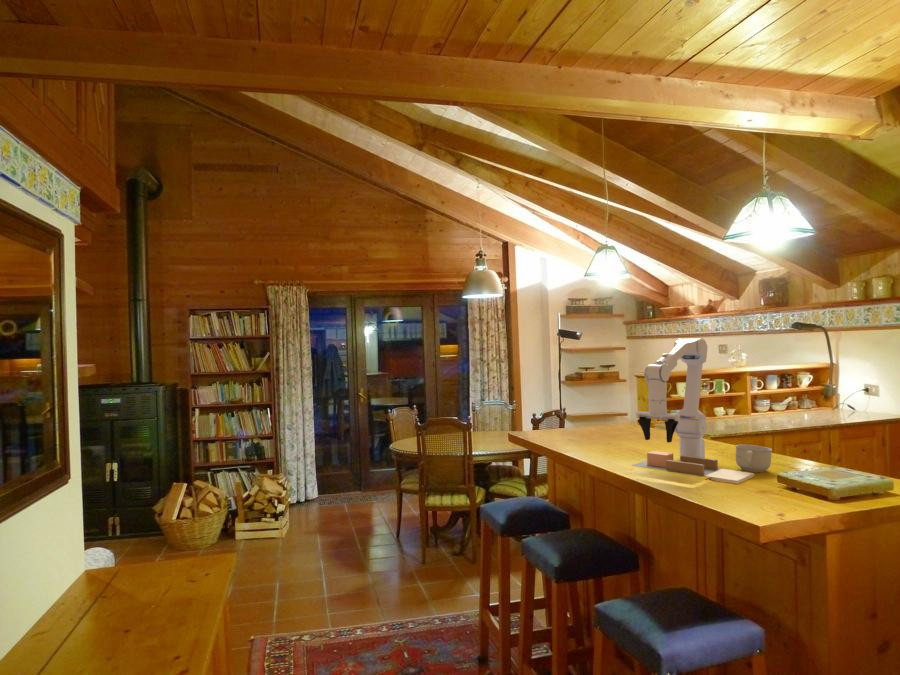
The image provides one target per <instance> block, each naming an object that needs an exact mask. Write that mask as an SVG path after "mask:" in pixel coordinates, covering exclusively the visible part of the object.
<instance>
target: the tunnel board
mask: <svg viewBox="0 0 900 675" xmlns="http://www.w3.org/2000/svg"><path fill="white" fill-rule="evenodd" d="M718 460H719V459H716V458H715V459H714V458H707V457H705V458H700V457H692V456H684V455H682V456H680V455H679V461H678V460H674V459H673V460H666V467H661V466H654V465H647V460H644V461H640V462H637V463H634V464H632V465H631V466H633V467H640V468H647V469H653V470H661V471H667V472H676V473H679V474H680V473H681V474H689V475H696V476H704V477H708V478H706V480H707V479H711V480H710V481H714V480H715V481H716V482H723V483H727V484H734V483H735V484H736V485H739V484H740V483H742V482H745V481H748V480H749V479H751V477H752V478H754V477H755V472H749V471H743V470H742V471H741V470H740V471H739V470H734V469H726V468H719V467H718V466H719V465H718V464H719V463H718ZM753 476H754V477H753Z"/></svg>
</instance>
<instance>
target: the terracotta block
mask: <svg viewBox="0 0 900 675" xmlns="http://www.w3.org/2000/svg"><path fill="white" fill-rule="evenodd" d="M646 458H647V459H646V461H647V465H654V466H661V467H666V460H673V461H674V453H673V452H666V451H665V452H664V451H656V450H652V451H649V452H647V453H646Z"/></svg>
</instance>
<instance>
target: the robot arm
mask: <svg viewBox="0 0 900 675" xmlns="http://www.w3.org/2000/svg"><path fill="white" fill-rule="evenodd" d="M707 357H708V344H707V341H706V340H705V339H704V337H700V338H677V339H676V340H674V344H673V348H672V349H671V350H670V352H669V353H668V352H666V353H665V352H664V353H662V355H661V356H660V357H659V358H658V359H657V360H656V361H655V362H654V363H649V364H648V365H646V367H645V369H644V373H643V374H644V375H643V376H644V379H645V381H646V386H647V387H648V388H647V389H648V391H647V396H648V411H636V416H635V417H636V418H637V423H639V425H640V426H639V427H641V430H642V433H643V435H644V439H645V441H649V440H651V423H652V420H653V419H654V420H665V421H664V426H665V430H666V442H667V443H672V441H673V436H674V432H675V433H676V435H677V437H679V443H678V444H679V457H680V456H682V455H684V456H692V457H700V458H706V445H705V440H704V438H703V437H704V435H706V432H707V422H706V420H707V418H706V415H705V414H704V413H703V412H702V411H700V410H699V406H700V396H701V387H702V386H701V385H702V376H703V375H702V374H703V364H705V363H706V362H707V359H708V358H707ZM679 360H681V362H683V363H684V364H686V366H687V367H686V378H685V386H684V388H685V389H684V400H683V407H682V409H680V410H678V411H677V412H676V414H675V413H671V412H670V413H669V412H667V411H668V407H667V406H668V404H667V382H668V381H669V379H670V375H671V374H672V371H673V370H674V369H675V368H676V367H677V366H678V361H679Z"/></svg>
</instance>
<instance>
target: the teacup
mask: <svg viewBox="0 0 900 675" xmlns="http://www.w3.org/2000/svg"><path fill="white" fill-rule="evenodd" d="M772 452H773V449H772V448H770V447H766V446H762V445H755V444H736V445H735V462H736V465H737V466H738V467H739V468H740V469H741V470H742V471H744V472H749V473H759V472H760V473H764V472H766V471H767V470H768V469H770V467H771V463H772Z"/></svg>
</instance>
